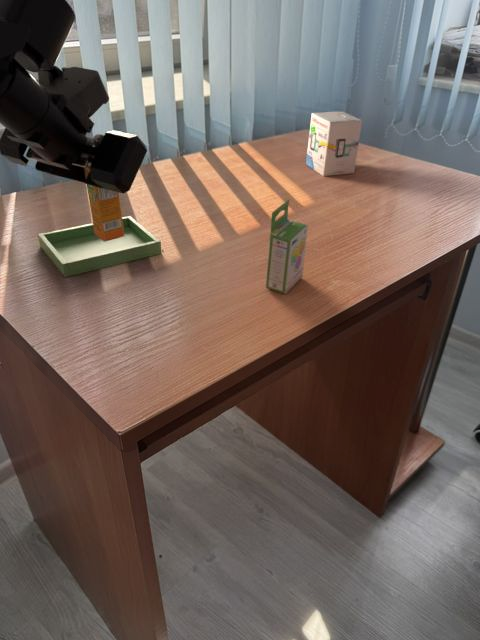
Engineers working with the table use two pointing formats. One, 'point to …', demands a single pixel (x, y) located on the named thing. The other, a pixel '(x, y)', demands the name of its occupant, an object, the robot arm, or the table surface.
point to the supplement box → (105, 212)
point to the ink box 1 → (285, 251)
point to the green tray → (97, 247)
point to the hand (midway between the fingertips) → (110, 185)
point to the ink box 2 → (333, 143)
